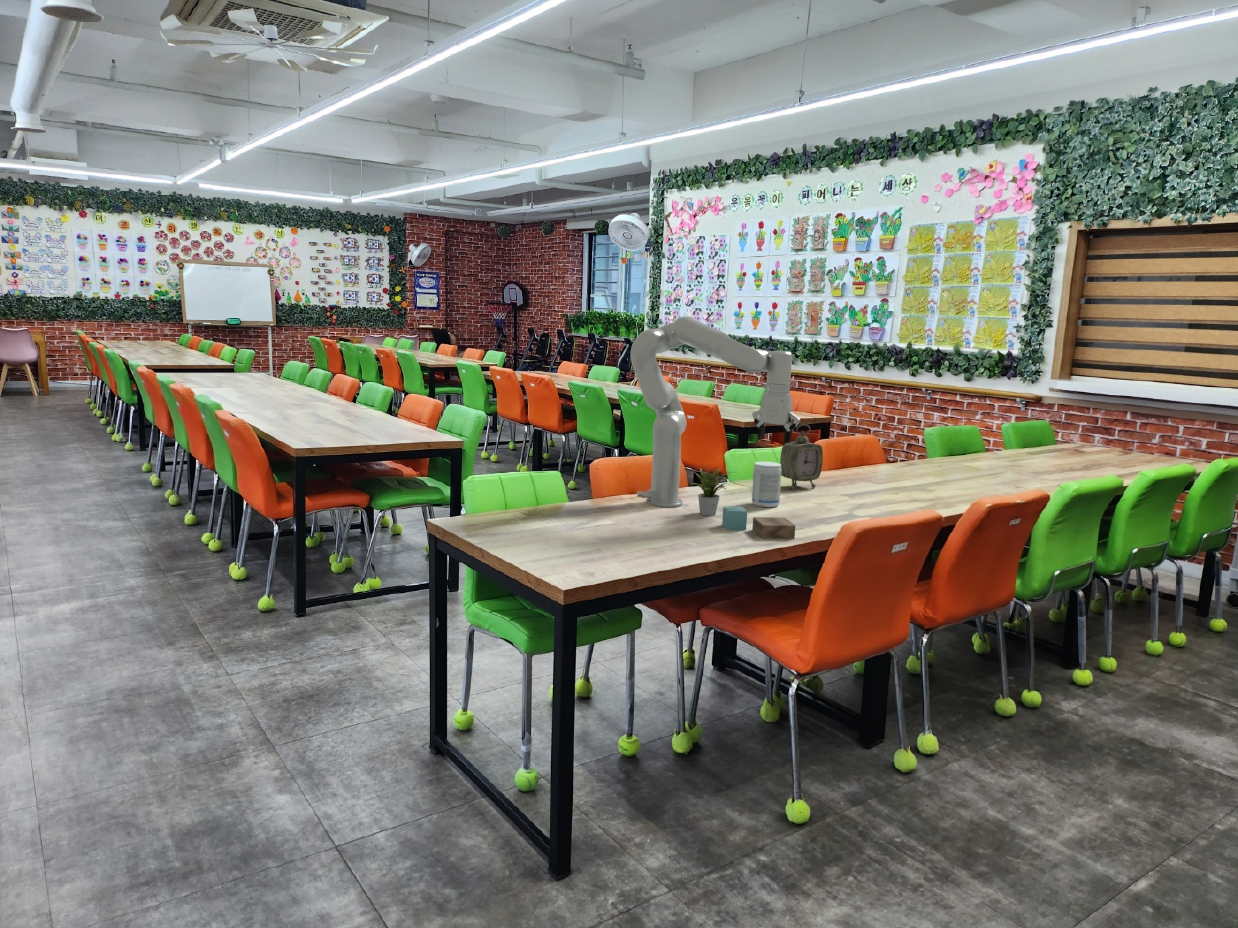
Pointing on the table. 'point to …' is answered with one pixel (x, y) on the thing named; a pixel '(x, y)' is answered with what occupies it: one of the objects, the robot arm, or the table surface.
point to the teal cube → (734, 518)
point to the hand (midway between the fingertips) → (774, 441)
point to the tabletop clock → (801, 459)
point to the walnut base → (773, 527)
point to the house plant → (709, 492)
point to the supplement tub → (766, 484)
